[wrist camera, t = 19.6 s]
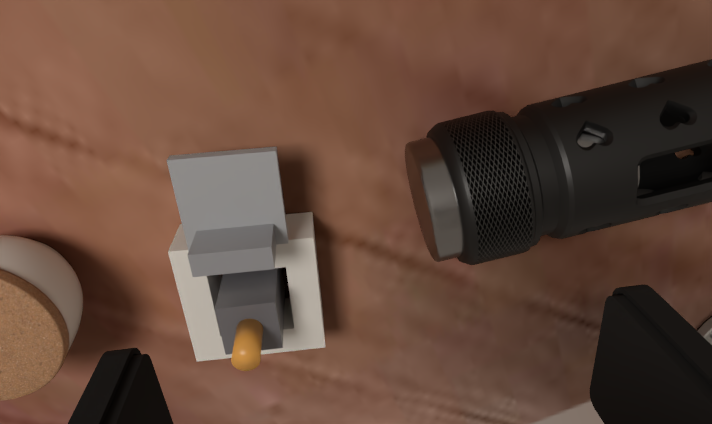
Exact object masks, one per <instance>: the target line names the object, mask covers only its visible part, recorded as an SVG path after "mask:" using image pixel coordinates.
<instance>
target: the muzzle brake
mask: <svg viewBox="0 0 712 424" xmlns="http://www.w3.org/2000/svg"><path fill="white" fill-rule="evenodd" d="M686 149H691V150H692V151H693V152H694V155H693V156H692V155H688V156H685V157H683V158H682V159H679V158H678V157H676V155H675V152H678V151H682V150H686ZM405 161H406V169H407V175H408V180H409V185H410V190H411V194H412V198H413V202H414V206H415V210H416V214H417V218H418V221H419V224H420V228H421V231H422V234H423V237H424V240H425V243H426V245H427V248H428V250H429V252H430V254H431V256H432V258H433V259H434V260H435V261H437V262H440V261H444V260H448V259H452V258H456V257H457V258H458V260H459V261H461V262H463V263H466V264H470V265H475V264H479V263H483V262H487V261H491V260H495V259H500V258H504V257H508V256H512V255H516V254H520V253H523V252H526V251H528V250H529V249H530V247H531V246H534V245H536V244H537V243H538V241H539V240H540V237H541V236H542V235H546V234H547V235H548V236H550V237H552V238H559V239H563V238H567V237H571V236H575V235H579V234H583V233H586V232H589V231H595V230H599V229H603V228H607V227H611V226H615V225H619V224H624V223H628V222H632V221H636V220H640V219H644V218H648V217H652V216H656V215H659V214H662V213H668V212H672V211H676V210H680V209H684V208H689V207H693V206H697V205H701V204H705V203H709V202H712V59H711V60H707V61H703V62H699V63H695V64H691V65H687V66H683V67H679V68H675V69H671V70H667V71H663V72H659V73H655V74H651V75H647V76H643V77H639V78H635V79H631V80H627V81H623V82H619V83H615V84H611V85H607V86H603V87H599V88H595V89H591V90H587V91H583V92H579V93H575V94H571V95H567V96H563V97H559V98H555V99H551V100H547V101H543V102H539V103H535V104H531V105H527V106H526V107H524V108H523V109H521V110H520V111H519V113H518V114H517V116H515V117H510V116H509V115H508V114H506V113H504V112H495V111H485V112H481V113H477V114H473V115H469V116H465V117H461V118H457V119H453V120H449V121H445V122H441V123H438V124H436V125H435V126H434V127H433V128H432V129H431V130H430V131H429V132H428V134H427V138H424V139H420V140H416V141H412V142H409V143H407V144H406V146H405Z"/></svg>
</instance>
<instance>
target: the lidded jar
mask: <svg viewBox="0 0 712 424" xmlns="http://www.w3.org/2000/svg"><path fill="white" fill-rule="evenodd" d="M82 311H83V292H82V288H81V284H80V282H79V280H78V277H77V275H76V273H75V271H74V270H73V268H72V267H71V265H70V264H69V263H68V262H67V261H66V260H65V259H64V258H63V257H62V255H60V254H59V253H58V252H57V251H56V250H54V249H53V248H51V247H50V246H48V245H46V244H43V243H41V242H38V241H34V240H31V239H28V238H23V237H19V236H10V235H0V401H1V400H9V399H15V398H18V397H22V396H25V395H28V394H30V393H32V392H35V391H37V390H39V389H40V388H42V387H43V386H45V385H47V384H48V383H49V382H50V381H51V380H52V379H53V378H54V377H55V375H56V374H57V373H58V371H59V370H60V368H61V367H62V365H63V363H64V360H65V358H66V356H67V353H68V351H69V349H70V347H71V345H72V343H73V341H74V338H75V336H76V334H77V331H78V328H79V326H80V322H81V317H82Z"/></svg>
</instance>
